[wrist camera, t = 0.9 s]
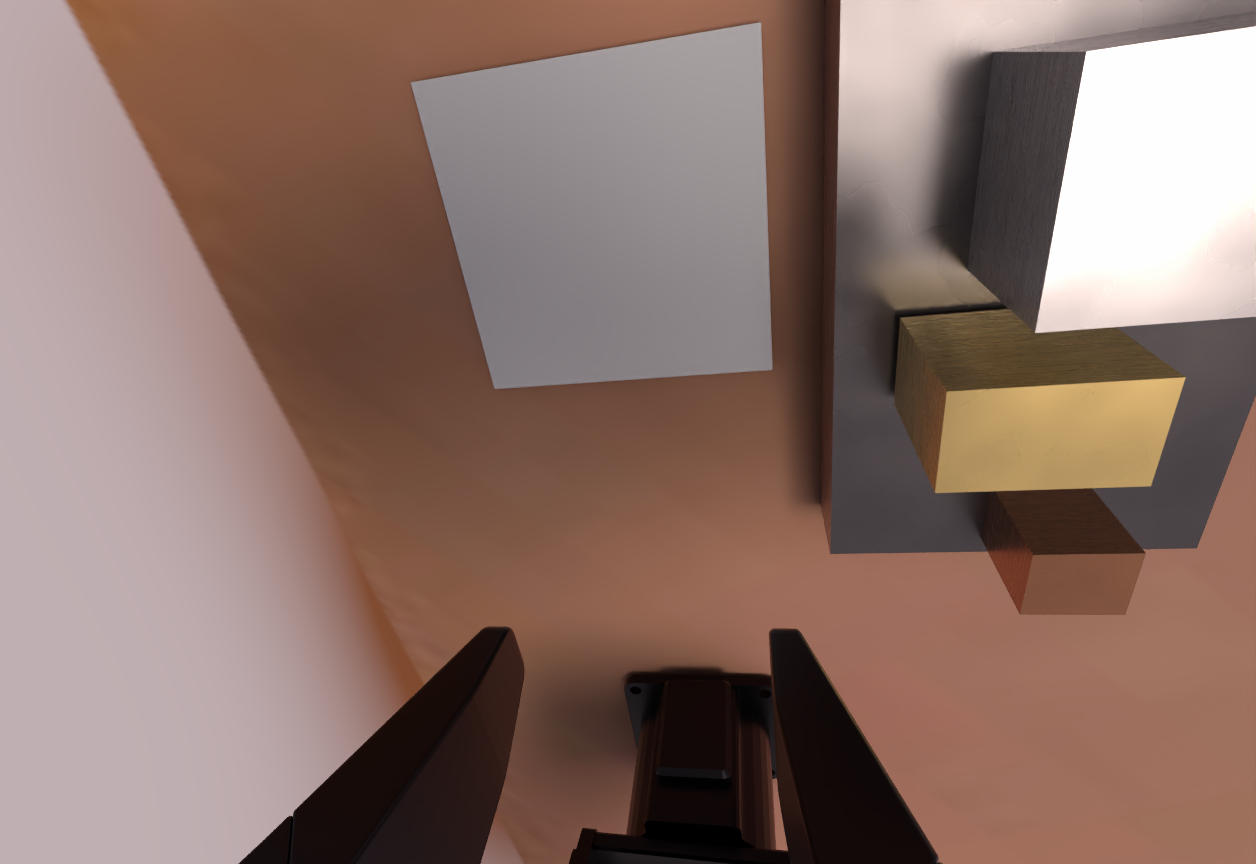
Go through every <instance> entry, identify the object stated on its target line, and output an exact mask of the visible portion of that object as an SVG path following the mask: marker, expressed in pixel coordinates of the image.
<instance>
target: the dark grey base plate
mask: <svg viewBox="0 0 1256 864" xmlns="http://www.w3.org/2000/svg"><path fill="white" fill-rule="evenodd" d="M1250 12H1256V0H825V96H824V211H823V327H822V442H821V508H822V513H823V519H824V524H825V529H826V534H827V539H828V544H829V549H830V554H849V553H915V552H981V551H988V553H989V555H990V557H991V559H992V561H993V563H994V565H995V567H996V569H997V571H998V573H999V574H1000V576H1001V578H1002V580H1003V582H1004V584H1005V586H1006V588H1007V590H1008V592H1009V594H1010V596H1011V598H1012V600H1013V602H1014V604H1015V606H1016V608H1017V610H1018V612H1019V614H1053V615H1125V614H1126V611H1127V608H1128V605H1129V602H1130V599H1131V596H1132V593H1133V590H1134V587H1135V584H1136V581H1137V578H1138V575H1139V572H1140V569H1141V566H1142V563H1143V560H1144V557H1145V554H1146V553H1145V552H1144V551H1143V549H1179V548H1197V546H1198V544H1199V541H1200V539H1201V536H1202V533H1203V531H1204V528H1205V526H1206V523H1207V520H1208V518H1209V515H1210V513H1211V510H1212V507H1213V505H1214V502H1215V500H1216V497H1217V494H1218V492H1219V489H1220V487H1221V484H1222V481H1223V479H1224V476H1225V474H1226V471H1227V468H1228V466H1229V463H1230V461H1231V458H1232V455H1233V453H1234V450H1235V448H1236V445H1237V442H1238V440H1239V437H1240V435H1241V432H1242V429H1243V427H1244V424H1245V422H1246V419H1247V416H1248V414H1249V411H1250V409H1251V406H1252V403H1253V401H1254V398H1255V396H1256V317H1244V318H1231V319H1218V320H1204V321H1191V322H1177V323H1164V324H1150V325H1137V326H1124V327H1116V328H1118V329H1119V330H1121V331H1122V332H1123V333H1125V334H1126V335H1127V336H1129V337H1130V338H1132V339H1133V340H1134V341H1136V342H1137V343H1139V344H1140V345H1141V346H1143V347H1144V348H1146V349H1147V350H1148V351H1150V352H1151V353H1153V354H1154V355H1155V356H1157V357H1158V358H1160V359H1161V360H1162V361H1164V362H1165V363H1166V364H1168V365H1169V366H1171V367H1172V368H1173V369H1175V370H1176V371H1178V372H1179V373H1180V374H1182V375H1183V376H1185V377H1186V378H1185V381H1184V384H1183V387H1182V391H1181V394H1180V397H1179V400H1178V403H1177V406H1176V409H1175V412H1174V416H1173V419H1172V422H1171V425H1170V428H1169V431H1168V434H1167V438H1166V441H1165V444H1164V447H1163V450H1162V453H1161V456H1160V459H1159V463H1158V466H1157V469H1156V472H1155V475H1154V478H1153V481H1152V485H1151V486H1145V487H1113V488H1081V489H1050V490H1018V491H987V492H955V493H935V492H934V490H933V488H932V486H931V483H930V481H929V479H928V477H927V475H926V472H925V470H924V468H923V466H922V464H921V462H920V459H919V457H918V455H917V453H916V451H915V449H914V446H913V444H912V442H911V440H910V438H909V435H908V433H907V431H906V429H905V427H904V425H903V422H902V420H901V418H900V416H899V414H898V412H897V409H896V407H895V405H894V396H895V382H896V368H897V354H898V340H899V326H900V318H902V317H914V316H927V315H939V314H951V313H963V312H976V311H988V310H1000V309H1009V308H1008V307H1006V306H1005V305H1004V304H1003V303H1002V302H1001V301H1000V300H999V299H998V298H997V297H996V296H995V295H994V294H992V293H991V292H990V291H989V290H988V289H987V288H986V287H985V286H984V285H983V284H982V283H981V282H980V281H978V280H977V279H976V278H975V277H974V276H973V275H972V274H971V273H970V272H969V271H968V270H967V266H968V257H969V249H970V241H971V233H972V225H973V216H974V208H975V200H976V192H977V183H978V175H979V167H980V159H981V150H982V142H983V134H984V126H985V117H986V109H987V101H988V93H989V84H990V76H991V68H992V60H993V52H994V51H1001V50H1007V49H1014V48H1021V47H1027V46H1034V45H1040V44H1047V43H1053V42H1060V41H1066V40H1073V39H1079V38H1086V37H1093V36H1099V35H1106V34H1112V33H1119V32H1125V31H1132V30H1138V29H1145V28H1151V27H1158V26H1165V25H1171V24H1178V23H1184V22H1191V21H1197V20H1204V19H1210V18H1217V17H1223V16H1230V15H1237V14H1243V13H1250Z"/></svg>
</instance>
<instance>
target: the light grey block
mask: <svg viewBox="0 0 1256 864" xmlns="http://www.w3.org/2000/svg"><path fill="white" fill-rule="evenodd" d="M967 270H968V271H969V272H970V273H971V274H972V275H973V276H974V277H975V278H976V279H977V280H978V281H980V282H981V283H982V284H983V285H984V286H985V287H986V288H987V289H988V290H989V291H990V292H991V293H992V294H994V295H995V296H996V297H997V298H998V299H999V300H1000V301H1001V302H1002V303H1003V304H1004V305H1005V306H1006V307H1008V308H1009V309H1010V310H1011V311H1012V312H1013V313H1014V314H1015V315H1016V316H1017V317H1018V318H1019V319H1020V320H1022V321H1023V322H1024V323H1025V324H1026V325H1027V326H1028V327H1029V328H1030V329H1031V330H1032V331H1033V332H1034V333H1043V332H1056V331H1070V330H1083V329H1097V328H1110V327H1124V326H1137V325H1150V324H1164V323H1177V322H1191V321H1204V320H1218V319H1231V318H1244V317H1256V12H1250V13H1243V14H1237V15H1230V16H1223V17H1217V18H1210V19H1204V20H1197V21H1191V22H1184V23H1178V24H1171V25H1165V26H1158V27H1151V28H1145V29H1138V30H1132V31H1125V32H1119V33H1112V34H1106V35H1099V36H1093V37H1086V38H1079V39H1073V40H1066V41H1060V42H1053V43H1047V44H1040V45H1034V46H1027V47H1021V48H1014V49H1007V50H1001V51H994V52H993V60H992V68H991V76H990V84H989V93H988V101H987V109H986V117H985V126H984V134H983V142H982V150H981V159H980V167H979V175H978V183H977V192H976V200H975V208H974V216H973V225H972V233H971V241H970V249H969V257H968V266H967Z"/></svg>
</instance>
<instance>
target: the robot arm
mask: <svg viewBox="0 0 1256 864" xmlns="http://www.w3.org/2000/svg"><path fill="white" fill-rule="evenodd" d="M769 645H770V667H771V679H769V678H749V677H701V676H654V675H632V676H629V677H628V678H627V679H626V682H625V689H624V691H625V695H626V700H627V704H628V709H629V713H630V718H631V723H632V727H633V732H634V736H635V741H636V745H637V750H638V751H637V759H636V766H635V774H634V781H633V788H632V796H631V803H630V811H629V818H628V825H627V833H626V835H622V834H612V833H602V832H597V829H589V828H583V829H582V831H581V835H580V838H579V842H578V845H577V848H576V849H573V851H572V853H571V858H570V861H569V864H942V863H938V859H939V858H938V855H937V853H936V852H935V850H934V849H933V847H932V845H931V844H930V842H929V840H928V839H927V837H926V835H925V834H924V832H923V831H922V829H921V827H920V826H919V824H918V822H917V821H916V819H915V818H914V816H913V814H912V813H911V811H910V809H909V808H908V806H907V805H906V803H905V801H904V800H903V798H902V796H901V795H900V793H899V792H898V790H897V788H896V787H895V785H894V783H893V782H892V780H891V778H890V777H889V775H888V774H887V772H886V770H885V769H884V767H883V765H882V764H881V762H880V761H879V759H878V757H877V756H876V754H875V752H874V751H873V749H872V748H871V746H870V744H869V743H868V741H867V739H866V738H865V736H864V734H863V733H862V731H861V730H860V728H859V726H858V725H857V723H856V721H855V720H854V718H853V717H852V715H851V713H850V712H849V710H848V708H847V707H846V705H845V704H844V702H843V700H842V699H841V697H840V695H839V694H838V692H837V690H836V689H835V687H834V686H833V684H832V682H831V681H830V679H829V677H828V676H827V674H826V673H825V671H824V669H823V668H822V666H821V664H820V663H819V661H818V660H817V658H816V656H815V655H814V653H813V651H812V650H811V648H810V647H809V645H808V643H807V642H806V640H805V638H804V637H803V635H802V634H801V632H800V631H799V630H797V629H772V630H770V632H769ZM523 681H524V663H523V659H522V656H521V653H520V650H519V647H518V644H517V641H516V637H515V634H514V632H513V630H512V629H511V628H510V627H486V628H484V629H482V630H481V631H480V632H479V633H478V634H477V635H476V636H475V637H474V638H473V639H472V640H470V641H469V642H468V643H467V644H466V645H465V646H464V647H463V648H462V649H461V650H460V651H459V652H458V653H457V654H456V655H455V656H454V657H453V658H452V659H451V660H450V661H449V662H448V663H447V664H446V665H445V666H444V667H443V668H442V669H440V670H439V671H438V672H437V673H436V674H435V675H434V676H433V677H432V678H431V679H430V680H429V681H428V682H427V683H426V684H425V685H424V686H423V687H422V688H421V689H420V690H419V691H418V692H417V693H416V694H415V695H414V696H413V697H412V698H411V699H409V700H408V701H407V702H406V703H405V704H404V705H403V706H402V707H401V708H400V709H399V710H398V711H397V712H396V713H395V714H394V715H393V716H392V717H391V718H390V719H389V720H388V721H387V722H386V723H385V724H384V725H383V726H382V727H381V728H380V729H378V730H377V731H376V732H375V734H373V735H372V736H371V737H370V738H369V739H368V740H367V741H366V742H365V743H364V744H363V745H362V746H361V747H360V748H359V749H358V750H357V751H356V752H355V753H354V754H353V755H352V756H351V757H349V758H348V759H347V760H346V762H344V763H343V764H342V765H341V766H340V767H339V768H338V769H337V770H336V771H335V772H334V773H333V774H332V775H331V776H330V777H329V778H328V779H327V780H326V781H325V782H324V783H323V784H322V785H321V786H320V787H318V788H317V789H316V790H315V791H314V792H313V793H312V794H311V795H310V796H309V797H308V798H307V799H306V800H305V801H304V802H303V803H302V804H301V805H300V806H299V807H298V808H297V809H296V810H295V811H294V813H293V817H292V816H289V817H287V818H286V819H285V820H284V821H283V822H282V823H281V824H280V825H279V826H278V827H277V828H276V829H275V830H274V831H273V832H272V833H271V834H270V835H269V836H268V837H266V839H265V840H263V841H262V842H261V843H260V844H259V845H258V846H257V847H256V848H255V849H254V850H253V851H252V852H251V853H250V854H248V855H247V856H246V857H245V858H244V859H243V860H242V861H241V862H240V863H239V864H480V863H481V860H482V856H483V853H484V850H485V846H486V843H487V839H488V836H489V833H490V829H491V826H492V822H493V819H494V816H495V812H496V809H497V805H498V802H499V799H500V795H501V792H502V788H503V784H504V780H505V776H506V772H507V767H508V762H509V757H510V751H511V746H512V740H513V735H514V729H515V724H516V719H517V713H518V708H519V702H520V697H521V691H522V686H523ZM775 778H777V783H778V793H779V800H780V807H781V813H782V819H783V824H784V830H785V836H786V842H787V847H788V851H783V850H776V839H775V821H774V803H773V785H772V779H775Z"/></svg>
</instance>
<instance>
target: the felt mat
mask: <svg viewBox="0 0 1256 864" xmlns="http://www.w3.org/2000/svg"><path fill="white" fill-rule="evenodd" d="M411 86H412V89H413V93H414V97H415V100H416V104H417V108H418V111H419V115H420V119H421V122H422V126H423V130H424V133H425V137H426V141H427V144H428V148H429V152H430V155H431V159H432V162H433V166H434V170H435V173H436V177H437V181H438V184H439V188H440V192H441V195H442V199H443V203H444V206H445V210H446V214H447V217H448V221H449V225H450V228H451V232H452V236H453V239H454V243H455V246H456V250H457V254H458V257H459V261H460V265H461V268H462V272H463V276H464V279H465V283H466V287H467V290H468V294H469V298H470V301H471V305H472V309H473V312H474V316H475V320H476V323H477V327H478V331H479V334H480V338H481V341H482V345H483V349H484V352H485V356H486V360H487V363H488V367H489V371H490V374H491V378H492V382H493V385H494V389H504V388H518V387H532V386H547V385H561V384H576V383H590V382H604V381H619V380H633V379H648V378H662V377H676V376H691V375H705V374H720V373H734V372H749V371H763V370H773V367H772V337H771V307H770V277H769V247H768V217H767V187H766V157H765V127H764V97H763V67H762V37H761V22H759V23H753V24H747V25H742V26H736V27H730V28H724V29H718V30H713V31H707V32H701V33H695V34H689V35H683V36H678V37H672V38H666V39H660V40H654V41H649V42H643V43H637V44H631V45H625V46H620V47H614V48H608V49H602V50H596V51H590V52H585V53H579V54H573V55H567V56H561V57H556V58H550V59H544V60H538V61H532V62H526V63H521V64H515V65H509V66H503V67H497V68H492V69H486V70H480V71H474V72H468V73H462V74H457V75H451V76H445V77H439V78H433V79H428V80H422V81H416V82H411Z"/></svg>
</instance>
